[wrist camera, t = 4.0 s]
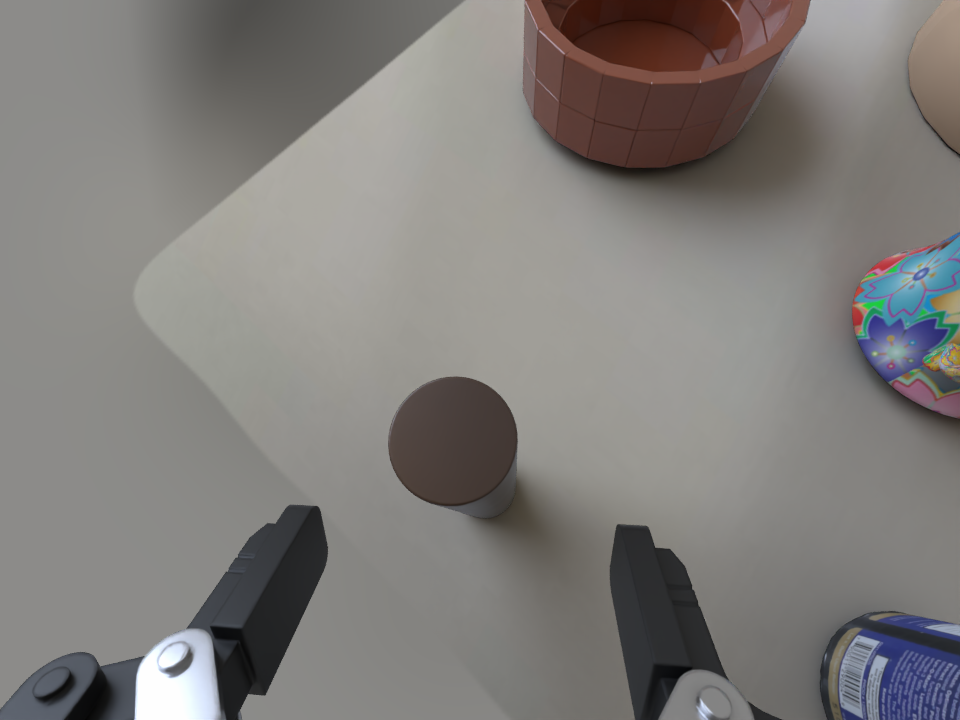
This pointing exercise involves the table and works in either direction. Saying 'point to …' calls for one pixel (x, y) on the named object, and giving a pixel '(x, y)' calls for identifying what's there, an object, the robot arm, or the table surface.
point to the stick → (456, 446)
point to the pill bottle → (892, 669)
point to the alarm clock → (939, 71)
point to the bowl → (652, 73)
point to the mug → (914, 323)
